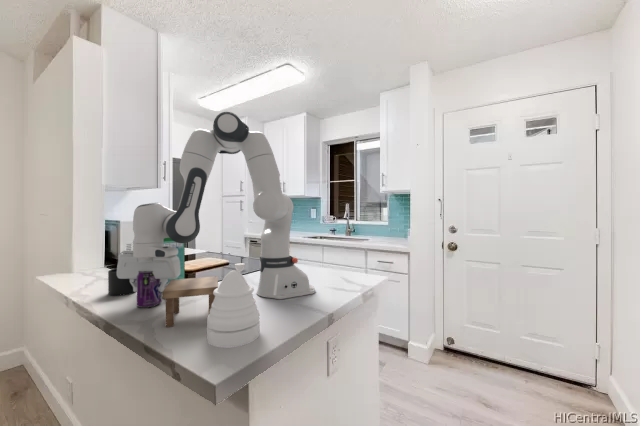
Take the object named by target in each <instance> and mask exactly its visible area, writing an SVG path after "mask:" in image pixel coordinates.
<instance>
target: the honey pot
mask: <svg viewBox="0 0 640 426" xmlns="http://www.w3.org/2000/svg"><path fill="white" fill-rule="evenodd" d="M245 265H246V264H245V263H242V262H241V263H240V262H239V263H234V268H235V269H233V270H230V271H229V272H228V273H226V275H225V276H224V277H223V278H222V281H221V282H220V284H219V285H218V288H216V289H215V290H214V291H213V294H214V295H215V298H214V301H213V303H212V305H211V307H212V308H211V309H210V314H209V313H208V315H207V319H206V341H207V343H208V345H210V346H212V347H215V348H223V349H224V348H228V349H229V348H236V347H241V346H245V345H247V344H250V343H252V342H254V341H256V340H257V338H259V337H260V333H261V327H260V326H261V324H260V323H261V322H260V311H259V309H258V306H257V304H256V299H255V298H254V295H253V292H254V291H255V288H254V287H253V286H252V285H251V284H249V283H248V282H247V280H246V278H245V277H244V276H243V274H242V273H241V272H242V271H244V270H245Z"/></svg>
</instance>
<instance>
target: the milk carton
mask: <svg viewBox="0 0 640 426" xmlns="http://www.w3.org/2000/svg"><path fill="white" fill-rule="evenodd" d="M164 244H165V245H167V246H170V247H173V248H176V249H178V254H177V255H176V256H177V257H178V258H179V260H180V271H181V272H180V275H179V276H178V277H177V278H175V279H168V281H167V283H166V284H165V286H164V289H165V288H166V286H167V285H168V283H169V282H170V281H171V280H176V279H186V275H185V274H186V273H185V271H186V269H185V268H186V267H185V265H186V263H185V260H186V259H185V256H186V255H185V253H186V251H185V244H186V243H177V242H175V241H173V240H171V239H170V238H164ZM161 283H162V282H161ZM161 294H163V292H161Z"/></svg>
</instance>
